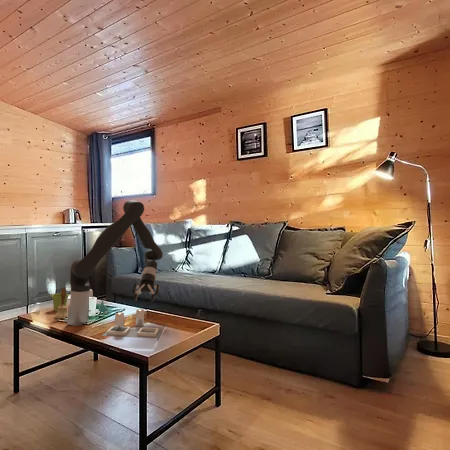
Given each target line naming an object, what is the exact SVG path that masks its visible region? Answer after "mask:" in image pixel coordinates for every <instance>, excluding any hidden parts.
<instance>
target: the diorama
mask: <svg viewBox="0 0 450 450" xmlns="http://www.w3.org/2000/svg"><path fill="white" fill-rule="evenodd" d="M98 311H100V312H105V311H109V309H108V307H107V306H106V305H105V304H104V300H101V302H100V305H99V307H98Z"/></svg>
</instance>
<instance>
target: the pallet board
mask: <svg viewBox="0 0 450 450" xmlns="http://www.w3.org/2000/svg"><path fill="white" fill-rule="evenodd" d="M114 330H115V325H114V326H113V325H112V326H111V327H110V328H109V329H107V330H106V331H105V332H103V334H102V335H101V337H114V338H115V337H119V338H139V339H140V338H142V339H157V341H159V340H160V338H161V336H162V334H163V333H164V332H163V331H164V330H163V329H160V328H157V327H141V328H131V326H123V332H122V331H114Z"/></svg>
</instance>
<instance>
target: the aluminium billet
mask: <svg viewBox="0 0 450 450" xmlns="http://www.w3.org/2000/svg"><path fill="white" fill-rule="evenodd" d="M135 311H136V312H135V327H136V328H137V327H141V328H143V327H144V324H145V323H144V321H145V309H144V308H143V309H142V308H137V309H136V310H135Z"/></svg>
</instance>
